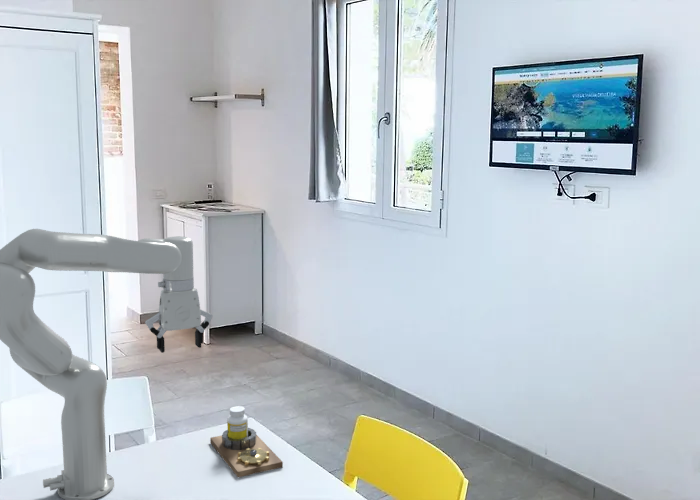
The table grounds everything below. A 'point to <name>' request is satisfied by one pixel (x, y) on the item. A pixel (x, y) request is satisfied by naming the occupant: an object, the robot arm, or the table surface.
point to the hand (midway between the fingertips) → (180, 348)
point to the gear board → (240, 468)
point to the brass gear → (253, 456)
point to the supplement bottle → (237, 423)
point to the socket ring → (239, 441)
